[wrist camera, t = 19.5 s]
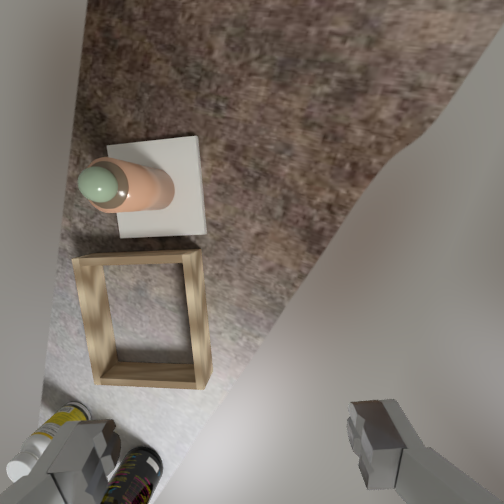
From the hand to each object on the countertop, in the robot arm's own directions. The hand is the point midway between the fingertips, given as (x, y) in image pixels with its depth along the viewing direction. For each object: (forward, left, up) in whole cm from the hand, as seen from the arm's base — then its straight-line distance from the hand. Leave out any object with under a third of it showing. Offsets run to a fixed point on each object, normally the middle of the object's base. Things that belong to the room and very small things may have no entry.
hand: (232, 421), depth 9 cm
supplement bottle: (+25, -34, -26) cm, 50 cm away
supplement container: (+33, -23, -26) cm, 48 cm away
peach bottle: (-10, -15, -25) cm, 31 cm away
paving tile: (-10, -15, -26) cm, 32 cm away
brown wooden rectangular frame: (+7, -18, -26) cm, 32 cm away
